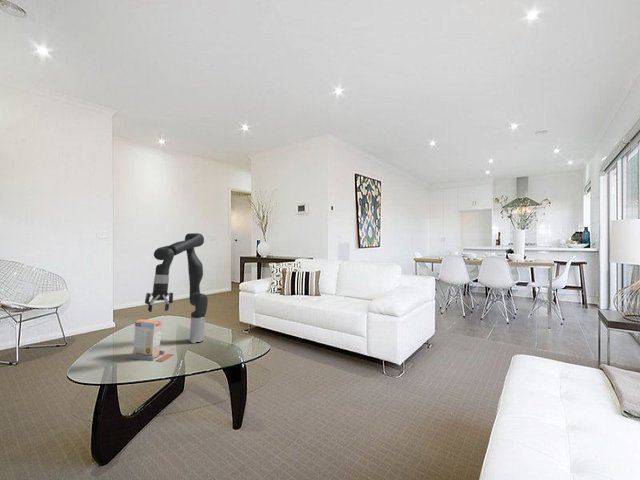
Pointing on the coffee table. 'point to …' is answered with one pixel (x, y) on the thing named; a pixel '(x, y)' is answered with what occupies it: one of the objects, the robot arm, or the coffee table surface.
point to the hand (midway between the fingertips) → (158, 311)
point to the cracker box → (147, 338)
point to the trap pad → (164, 357)
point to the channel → (143, 356)
